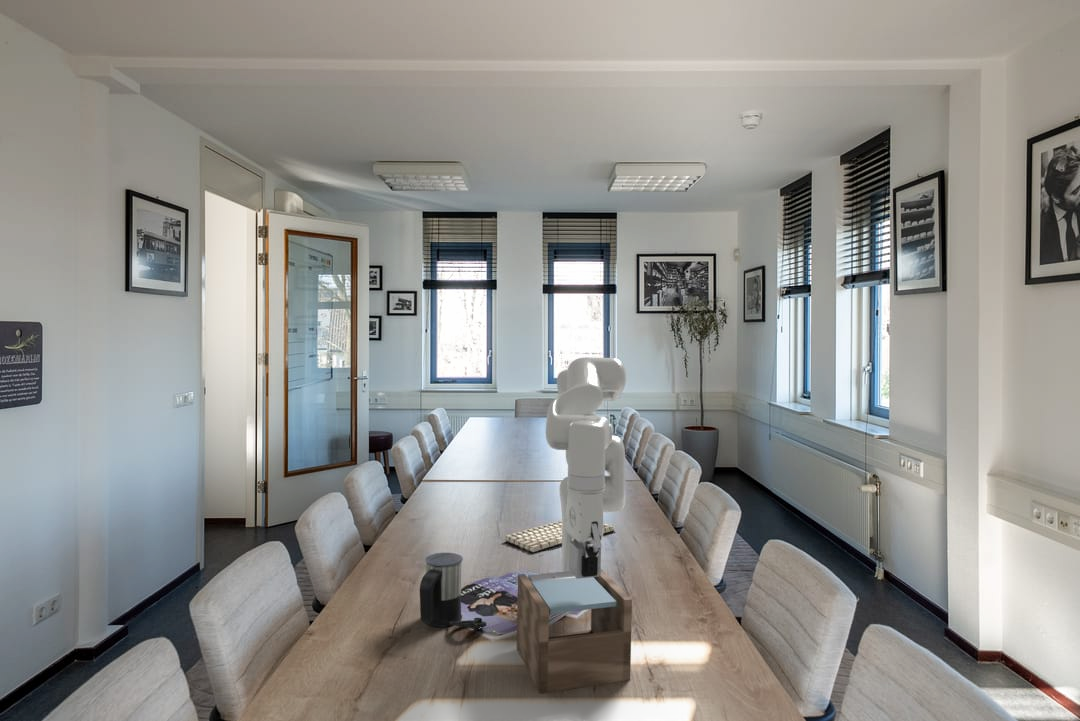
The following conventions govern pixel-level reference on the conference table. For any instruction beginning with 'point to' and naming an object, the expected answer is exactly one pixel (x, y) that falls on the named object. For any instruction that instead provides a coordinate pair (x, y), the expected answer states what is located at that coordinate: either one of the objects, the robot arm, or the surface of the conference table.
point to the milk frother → (443, 592)
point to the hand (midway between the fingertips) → (584, 569)
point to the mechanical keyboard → (543, 537)
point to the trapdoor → (570, 592)
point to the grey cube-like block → (579, 559)
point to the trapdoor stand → (574, 641)
